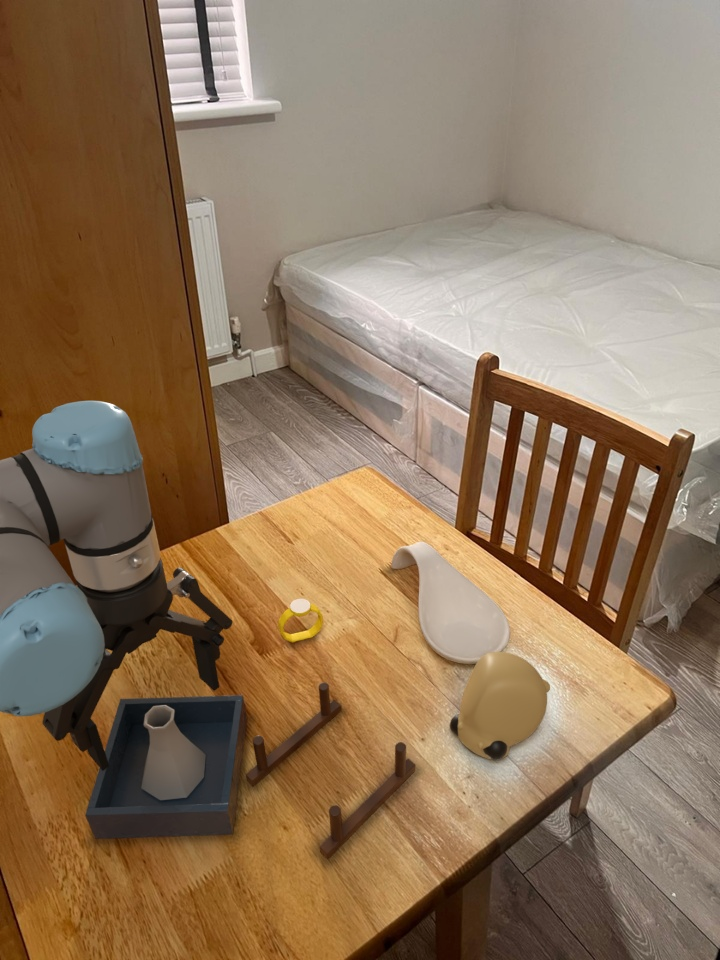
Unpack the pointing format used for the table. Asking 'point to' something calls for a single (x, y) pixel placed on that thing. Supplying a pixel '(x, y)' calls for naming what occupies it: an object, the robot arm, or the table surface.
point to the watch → (300, 609)
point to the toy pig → (500, 705)
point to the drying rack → (338, 829)
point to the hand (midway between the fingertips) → (157, 719)
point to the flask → (170, 758)
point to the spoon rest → (453, 608)
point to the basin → (118, 787)
